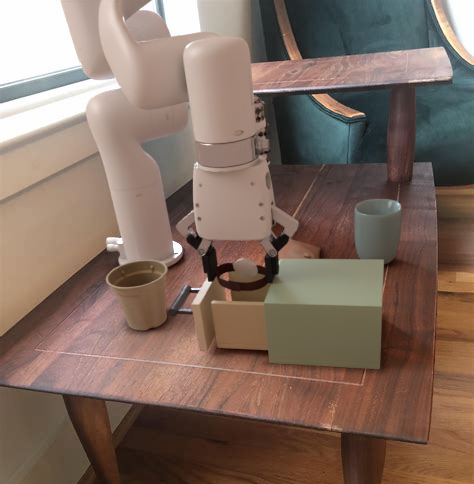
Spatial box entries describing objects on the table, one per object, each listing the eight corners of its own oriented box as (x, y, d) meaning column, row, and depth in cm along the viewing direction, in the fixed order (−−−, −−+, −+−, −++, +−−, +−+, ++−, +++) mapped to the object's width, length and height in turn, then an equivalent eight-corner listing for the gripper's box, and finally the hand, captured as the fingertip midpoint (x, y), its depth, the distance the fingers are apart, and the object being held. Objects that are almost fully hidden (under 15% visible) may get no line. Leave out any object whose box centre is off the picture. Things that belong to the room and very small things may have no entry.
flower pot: (125, 307, 92) (113, 261, 87) (180, 303, 91) (171, 256, 87) (112, 339, 84) (99, 290, 79) (172, 334, 83) (162, 285, 79)
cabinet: (269, 363, 74) (263, 302, 69) (284, 314, 85) (280, 258, 80) (379, 369, 71) (382, 306, 66) (381, 317, 81) (384, 259, 76)
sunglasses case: (327, 294, 87) (304, 263, 85) (290, 315, 90) (267, 285, 87) (321, 246, 102) (301, 219, 100) (290, 265, 105) (270, 239, 103)
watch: (274, 279, 77) (272, 255, 75) (262, 295, 73) (260, 271, 71) (224, 274, 80) (221, 251, 78) (211, 290, 76) (207, 267, 74)
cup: (400, 270, 92) (403, 215, 87) (353, 270, 94) (353, 216, 89) (398, 250, 99) (401, 197, 93) (354, 251, 100) (354, 199, 95)
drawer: (168, 349, 78) (158, 303, 74) (192, 308, 88) (184, 264, 83) (294, 356, 74) (291, 307, 70) (305, 312, 83) (303, 266, 79)
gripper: (302, 139, 67) (308, 266, 77) (170, 145, 72) (191, 264, 81) (293, 157, 61) (300, 293, 70) (150, 162, 66) (174, 289, 75)
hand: (242, 277), depth 76 cm, fingers closed on watch, 7 cm apart
